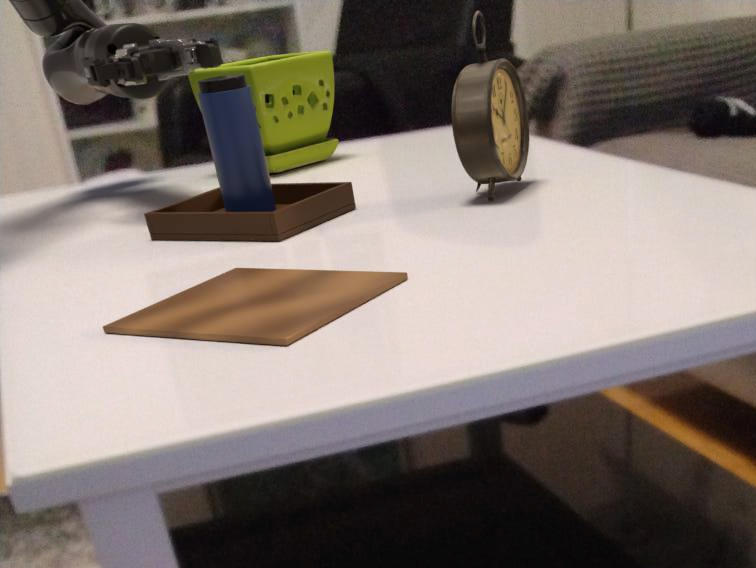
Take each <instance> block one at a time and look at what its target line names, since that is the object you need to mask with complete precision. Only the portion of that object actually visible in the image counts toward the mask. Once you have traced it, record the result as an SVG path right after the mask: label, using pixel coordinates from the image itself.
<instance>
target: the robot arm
mask: <svg viewBox="0 0 756 568" xmlns="http://www.w3.org/2000/svg"><path fill="white" fill-rule="evenodd" d="M8 2H9V3H10V4H11V6H12V7H13V9H14V10H15V11H16V13H17V14H18V16H19V18H21V21H22V22H24V24H25V25H26V27H27V28H28V29H29V30H30V31H31V32H32V33H34V34H35V35H37V36H39V37H43V38H52V37H55V36H59V35H60V36H59V37H58V38H57V39H56V40H55V42H53V43H52V44H51V45H50V46H49V47H48V48H47V50H46V51H45V52H44V54H43V56H42V61H41V66H42V71H43V75H44V78H45V80H46V82H47V83H48V85H49V86H50V88H52V90H53V91H54V92H55V93H56V94H57V95H59V96H60V97H61V98H62V99H64V100H65V101H67V102H70V103H73V104H75V105H78V106H85V105H86V106H87V105H91V104H93V103H96V102H98V101H99V100H102V99H103V98H105V97H106V96H107V97H108V95H113V96H115V97H119V98H127V99H137V100H148V99H152V98H155V97H156V96H158V95H160V94H161V93H162V92H163V91H164V90H165V88H166V86H167V85H168V83H169V81H170V80H171V79H174V77H182V76H188V75H189V74H192V73H194V72H195V69H200V68H203V69H208V68H215V67H219V66H221V64H224V60H223V56H222V53H221V49H220V45H219V44H220V42H219V39H218V38H215V37H211V38H208V39H196V38H192V39H191V40H187V38H177V39H169V40H166V39H165V38H161V36H159V35H158V33H156V32H155V31H154V30H153V29H151V28H150V27H148V26H146V25H144V24H141V23H136V22H125V23H111V24H107V23H106V22H104V20H102V19H101V18H100V17H99V16H97V15H96V14H95V12H93V11H92V9H90V8H89V6H87V5H86V4H85V3H84V2H83V0H8ZM61 34H62V35H61ZM179 68H181V69H179Z"/></svg>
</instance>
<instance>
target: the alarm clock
mask: <svg viewBox="0 0 756 568" xmlns="http://www.w3.org/2000/svg"><path fill="white" fill-rule="evenodd" d="M478 16H479V18H480V22H481V23H480V24H481V28H482V43H479V44H478V40H477V35H476V32H477V31H476V29H477V27H476V26H477V19H478ZM486 31H487V30H486V23H485V18H484V15H483V13H482V12H481V10H476V11H475V12H474V14H473V19H472V37H473V43H474V46H475V51H476V52H477V63H471V64H468V65H465V67H464V68H462V70H461V71H460V72H459V73H458V75H457V78H456V80H455V83H454V86H453V90H452V95H451V96H452V97H451V107H450V108H451V109H450V110H451V111H450V112H451V114H450V115H451V128H452V136H453V140H454V145H455V149H456V152H457V155H458V159H459V161H460V163H461V166H462V167H463V169H464V171H465V172H466V174H467V175H468V176H469V178H470V179H471V180H472V181H474V182H475V183H477V185H476V189H475V193H477V192H478V191H479V189H480V188H481V186H482V185H488V194H489V195H488V196H487V200H488V202H493V201H494V200H495V196H494V194H495V191H496V184H500V183H507V182H516V181H517V182H521V181H522V176H523V174H524V171H525V169H526V167H527V162H528V157H529V152H530V151H529V150H530V122H529V121H530V120H529V113H528V112H529V111H528V106H527V105H528V104H527V98H526V94H525V90H524V87H523V83H522V81H521V78H520V75H519V73H518V71H517V69H516V67H515V66H514V65H513V64H512V63H511V62H510V61H509V60H508V59H506V58H499V59H494V60H488V57H487V54H486V51H487V47H486V40H487V39H486V38H487V35H486Z"/></svg>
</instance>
